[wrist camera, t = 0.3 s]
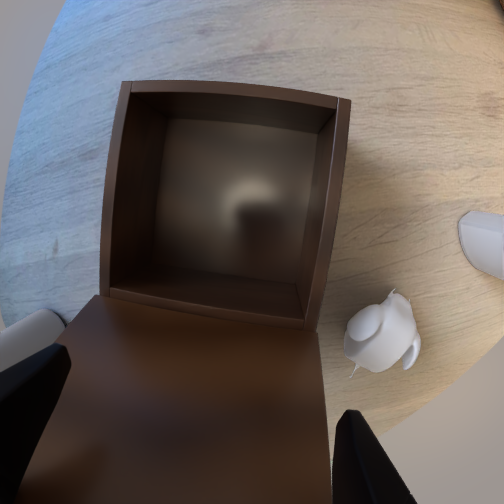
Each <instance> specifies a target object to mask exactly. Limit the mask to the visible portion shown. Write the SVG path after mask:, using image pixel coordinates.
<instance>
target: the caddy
mask: <svg viewBox="0 0 504 504" xmlns="http://www.w3.org/2000/svg"><path fill="white" fill-rule="evenodd" d="M350 111H351V100H349V99H344V98H340V97H339V98H337V97H335V96H330V95H325V94H319V93H314V92H308V91H302V90H295V89H288V88H281V87H273V86H265V85H256V84H246V83H234V82H219V81H197V80H144V81H122V83H121V87H120V92H119V96H118V101H117V106H116V111H115V116H114V122H113V128H112V134H111V140H110V146H109V153H108V160H107V168H106V176H105V186H104V196H103V207H102V221H101V238H100V296H104V297H109V298H113V299H117V300H122V301H127V302H131V303H136V304H141V305H146V306H150V307H155V308H160V309H166V310H171V311H176V312H181V313H187V314H192V315H198V316H204V317H210V318H216V319H222V320H228V321H234V322H241V323H247V324H254V325H261V326H268V327H276V328H283V329H291V330H299V331H308V332H316V328H317V323H318V319H319V314H320V309H321V305H322V300H323V295H324V290H325V285H326V280H327V275H328V269H329V264H330V258H331V253H332V247H333V241H334V235H335V229H336V223H337V217H338V210H339V204H340V197H341V190H342V183H343V175H344V167H345V159H346V151H347V142H348V132H349V122H350Z"/></svg>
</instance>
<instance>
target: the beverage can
mask: <svg viewBox="0 0 504 504" xmlns="http://www.w3.org/2000/svg"><path fill="white" fill-rule="evenodd" d="M64 329H65V326H64V324H63V322H62V320H61V319H60V318H59V317H58V316H57V315H56V314H55V313H54V312H52V311H51V310H49V309H45V308H44V309H40V310H38V311H36V312H34V313H32V314H31V315H29V316H27V317H25V318H24V319H22V320H20V321H18V322H17V323H15V324H13V325H11V326H10V327H8V328H6V329H5V330H3V331H1V332H0V372H1V371H3V370H5V369H7V368H9V367H10V366H12V365H14V364H16V363H18V362H20V361H22V360H23V359H25V358H27V357H29V356H31V355H33V354H34V353H36V352H38V351H40V350H42V349H44V348H46V347H47V346H49V345H51V344H53V342H54V341H55V340H56V339H57V338H58V336H59V335H60V334H61V333H62V332H63V331H64Z"/></svg>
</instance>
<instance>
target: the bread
mask: <svg viewBox="0 0 504 504" xmlns="http://www.w3.org/2000/svg"><path fill="white" fill-rule="evenodd" d="M499 2H500V4H501V6H502V8H503V10H504V0H499Z"/></svg>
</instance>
